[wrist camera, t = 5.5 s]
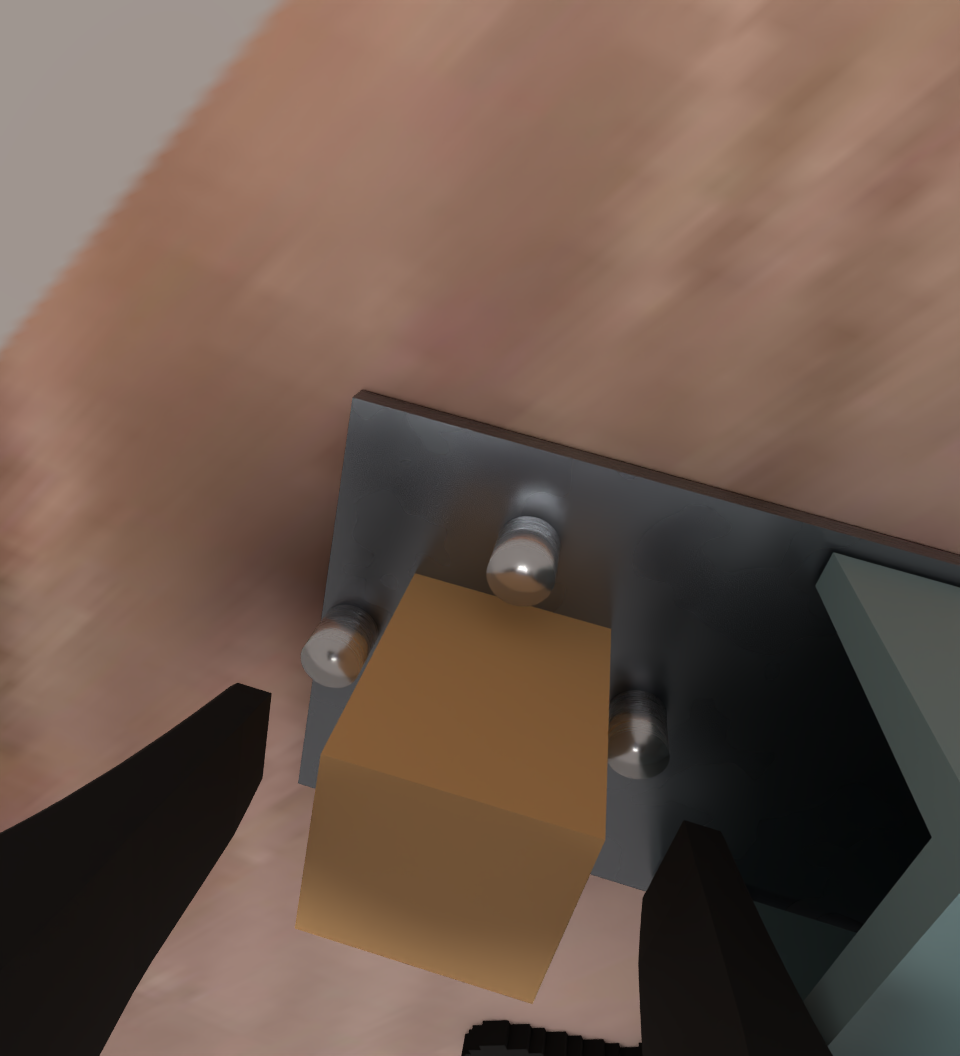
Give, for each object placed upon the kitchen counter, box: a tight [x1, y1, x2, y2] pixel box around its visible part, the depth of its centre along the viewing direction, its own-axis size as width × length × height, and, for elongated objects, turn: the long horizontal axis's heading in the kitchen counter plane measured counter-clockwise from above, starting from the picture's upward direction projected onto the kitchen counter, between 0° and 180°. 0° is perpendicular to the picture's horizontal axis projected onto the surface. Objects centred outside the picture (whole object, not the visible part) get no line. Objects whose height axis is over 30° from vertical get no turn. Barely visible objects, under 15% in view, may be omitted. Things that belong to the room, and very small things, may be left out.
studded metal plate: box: [298, 390, 960, 933], centre depth 14 cm, size 18×10×2 cm, turn 78°
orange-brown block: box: [295, 573, 611, 1004], centre depth 13 cm, size 4×4×5 cm
